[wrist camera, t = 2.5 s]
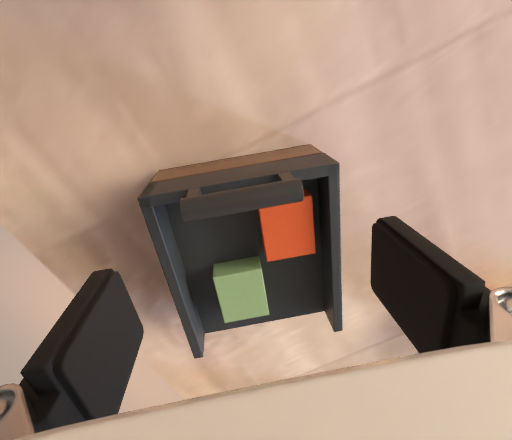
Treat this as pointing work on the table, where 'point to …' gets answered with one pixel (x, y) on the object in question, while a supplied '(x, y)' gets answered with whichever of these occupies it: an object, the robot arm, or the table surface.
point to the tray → (245, 240)
